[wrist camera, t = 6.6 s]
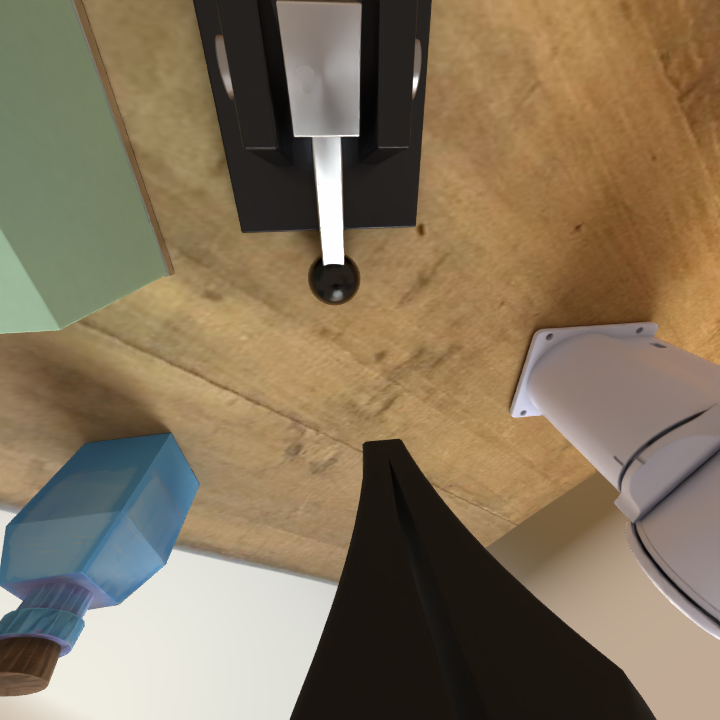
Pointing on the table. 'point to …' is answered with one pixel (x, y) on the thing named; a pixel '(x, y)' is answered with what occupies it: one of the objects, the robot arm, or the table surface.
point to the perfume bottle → (87, 547)
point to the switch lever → (325, 120)
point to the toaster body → (65, 176)
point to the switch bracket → (294, 154)
